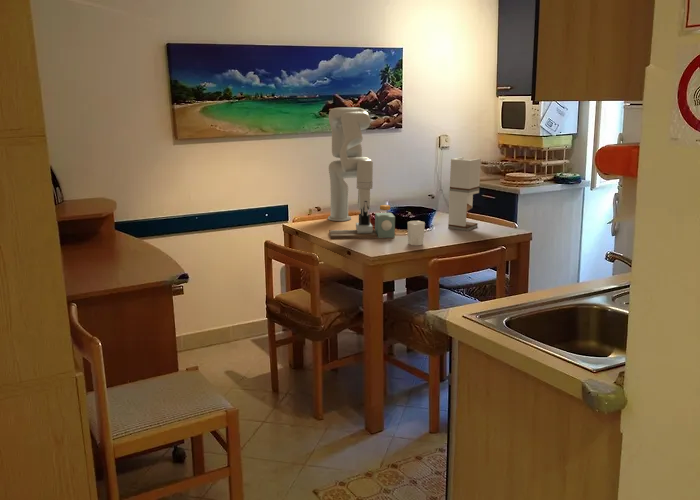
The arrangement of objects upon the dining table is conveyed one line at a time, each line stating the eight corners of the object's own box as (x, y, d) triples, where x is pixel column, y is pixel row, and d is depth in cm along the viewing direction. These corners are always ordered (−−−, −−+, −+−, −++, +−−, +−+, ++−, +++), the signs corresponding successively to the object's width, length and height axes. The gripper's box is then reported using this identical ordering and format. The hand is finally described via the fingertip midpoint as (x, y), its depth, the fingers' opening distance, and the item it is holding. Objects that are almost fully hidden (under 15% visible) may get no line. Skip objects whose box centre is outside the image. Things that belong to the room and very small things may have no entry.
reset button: (379, 208, 319) (379, 204, 319) (389, 208, 320) (389, 204, 319) (380, 210, 314) (380, 206, 314) (391, 210, 315) (391, 206, 315)
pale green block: (374, 232, 325) (375, 212, 323) (390, 232, 326) (391, 212, 323) (378, 238, 314) (378, 217, 312) (394, 237, 315) (395, 217, 312)
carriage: (355, 230, 323) (356, 212, 321) (370, 229, 323) (370, 212, 321) (357, 234, 314) (358, 216, 312) (372, 233, 315) (372, 216, 313)
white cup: (410, 246, 298) (411, 224, 296) (404, 242, 306) (405, 221, 303) (426, 245, 300) (427, 223, 298) (420, 241, 308) (421, 220, 305)
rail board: (329, 233, 323) (329, 228, 323) (373, 232, 326) (373, 227, 325) (330, 238, 312) (330, 233, 311) (377, 238, 314) (377, 232, 313)
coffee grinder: (466, 230, 330) (470, 160, 322) (448, 228, 337) (450, 159, 328) (477, 227, 339) (480, 158, 331) (458, 224, 345) (461, 157, 337)
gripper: (354, 182, 321) (354, 220, 325) (358, 187, 305) (358, 226, 309) (370, 182, 322) (369, 219, 326) (374, 187, 306) (374, 226, 310)
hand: (364, 222), depth 318 cm, fingers closed on carriage, 3 cm apart
